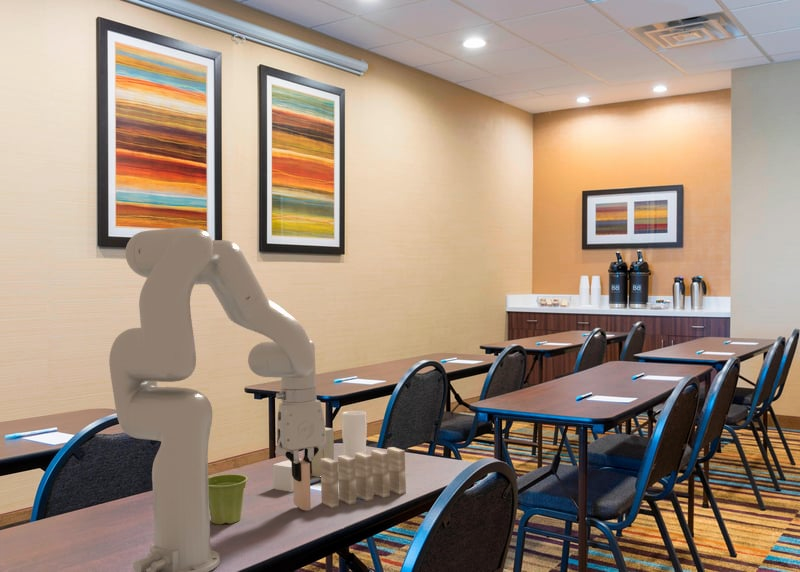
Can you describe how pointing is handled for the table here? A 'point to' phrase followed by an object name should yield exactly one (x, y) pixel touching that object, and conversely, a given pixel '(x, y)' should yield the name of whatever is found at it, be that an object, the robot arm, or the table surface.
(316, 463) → the skincare box
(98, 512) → the table surface
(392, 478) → the domino
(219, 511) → the plant pot
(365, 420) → the drinking glass
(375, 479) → the domino
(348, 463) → the domino
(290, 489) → the white cube
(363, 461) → the domino
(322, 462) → the domino
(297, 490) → the domino
